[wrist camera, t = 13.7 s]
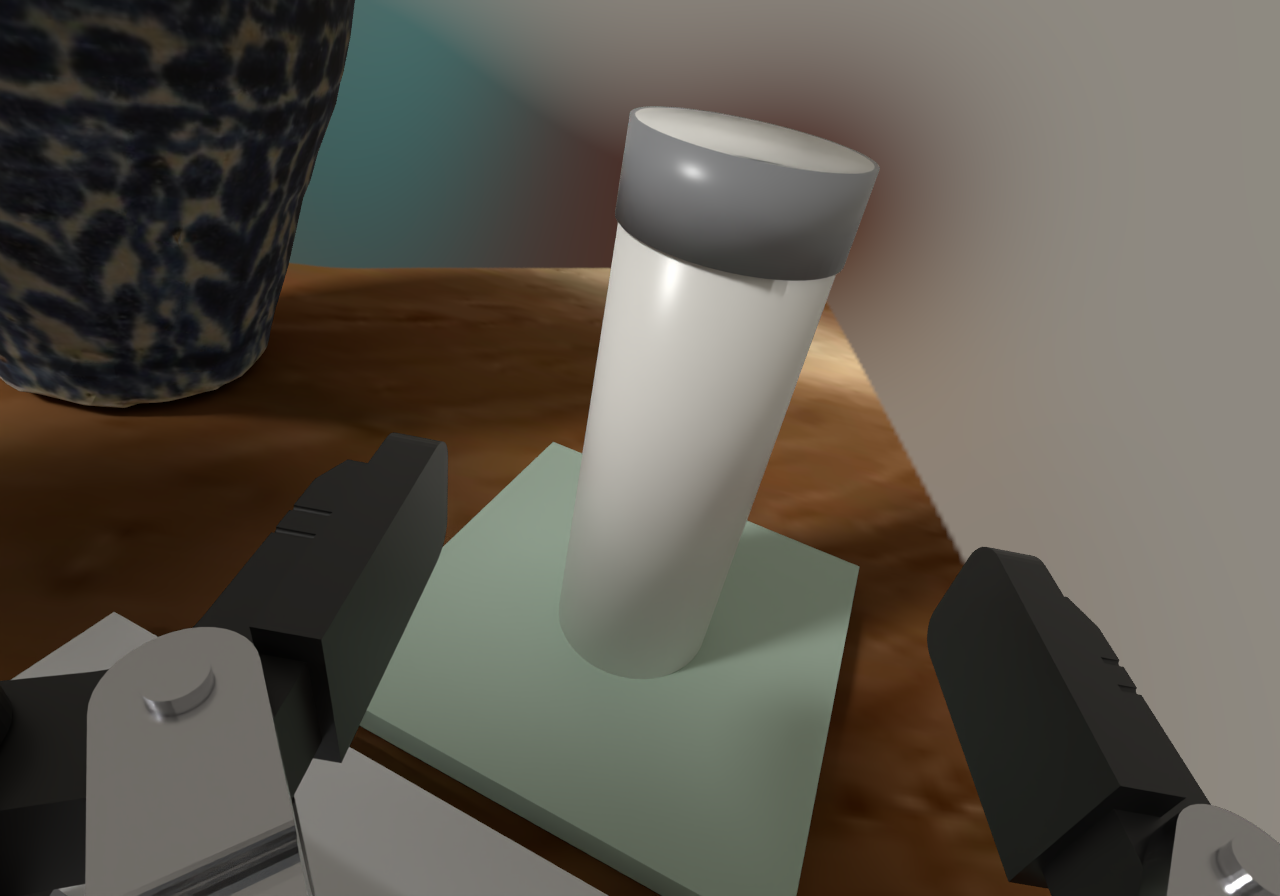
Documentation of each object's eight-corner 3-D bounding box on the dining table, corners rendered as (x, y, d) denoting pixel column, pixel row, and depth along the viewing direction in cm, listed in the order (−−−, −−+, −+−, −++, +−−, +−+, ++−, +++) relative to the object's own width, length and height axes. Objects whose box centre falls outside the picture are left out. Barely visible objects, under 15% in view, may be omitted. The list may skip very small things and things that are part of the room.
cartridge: (525, 635, 21) (585, 117, 12) (598, 539, 25) (680, 100, 16) (676, 710, 19) (864, 192, 11) (726, 595, 23) (890, 154, 15)
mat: (310, 698, 19) (306, 676, 18) (551, 459, 30) (553, 441, 29) (774, 959, 16) (787, 943, 15) (850, 583, 27) (859, 566, 26)
